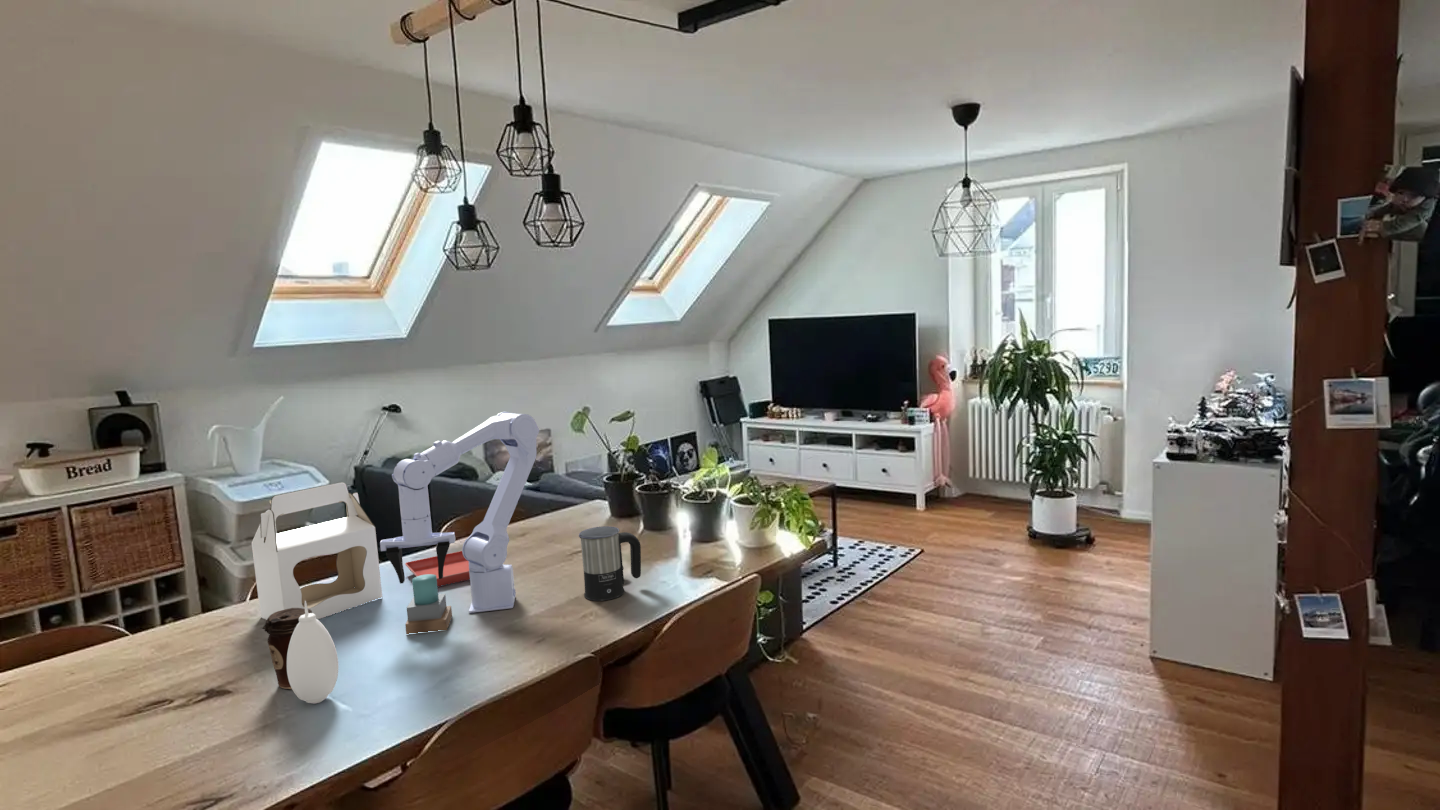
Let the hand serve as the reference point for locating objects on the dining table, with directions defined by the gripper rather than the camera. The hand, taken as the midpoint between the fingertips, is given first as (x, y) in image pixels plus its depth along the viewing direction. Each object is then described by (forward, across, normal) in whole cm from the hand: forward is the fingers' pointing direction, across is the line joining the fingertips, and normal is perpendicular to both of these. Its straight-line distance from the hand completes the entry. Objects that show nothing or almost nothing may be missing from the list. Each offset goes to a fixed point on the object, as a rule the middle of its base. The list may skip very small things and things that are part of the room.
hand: (421, 579), depth 167 cm
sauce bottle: (+10, +15, +29) cm, 34 cm away
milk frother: (+10, -39, -9) cm, 41 cm away
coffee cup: (+10, +20, +20) cm, 30 cm away
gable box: (+10, +25, -21) cm, 34 cm away
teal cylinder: (+5, 0, 0) cm, 5 cm away
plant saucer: (+11, -2, -34) cm, 36 cm away
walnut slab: (+11, -1, 0) cm, 11 cm away
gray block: (+8, 0, 0) cm, 8 cm away
